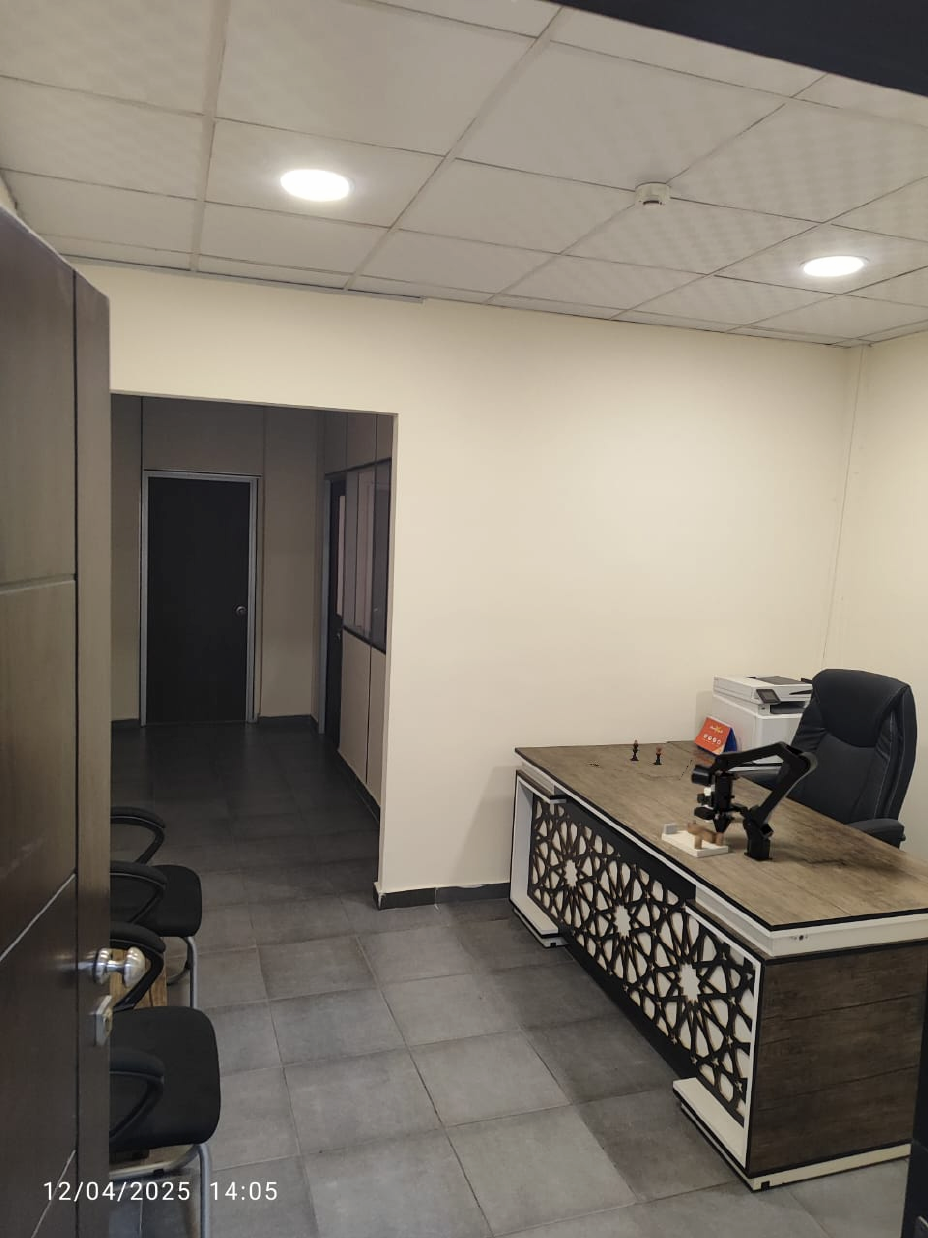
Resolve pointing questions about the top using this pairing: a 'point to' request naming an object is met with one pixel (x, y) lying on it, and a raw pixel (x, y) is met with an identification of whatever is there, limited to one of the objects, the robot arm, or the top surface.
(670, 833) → the white peg board
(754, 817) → the robot arm
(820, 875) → the top surface
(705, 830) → the hinged leg
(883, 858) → the top surface
